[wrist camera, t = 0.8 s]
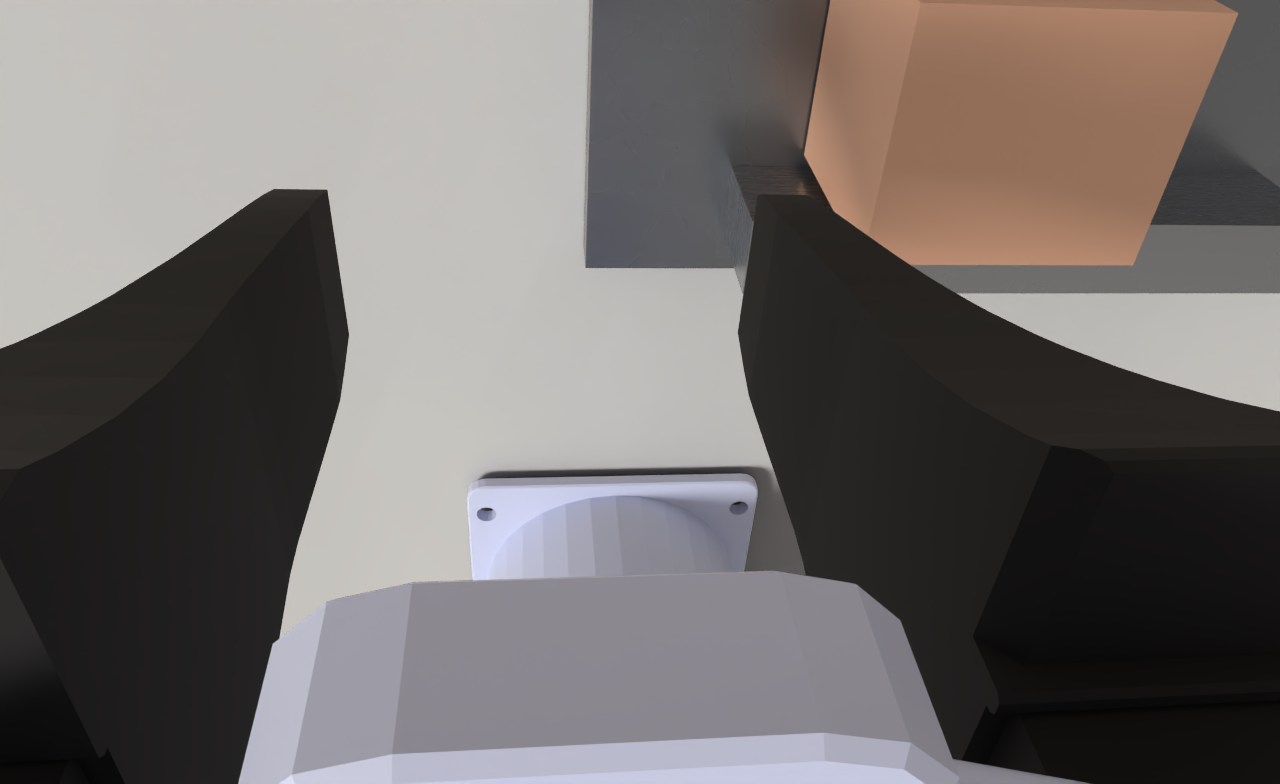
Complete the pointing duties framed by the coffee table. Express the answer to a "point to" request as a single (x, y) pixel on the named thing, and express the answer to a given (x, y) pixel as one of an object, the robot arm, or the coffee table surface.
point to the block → (1008, 122)
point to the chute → (775, 165)
